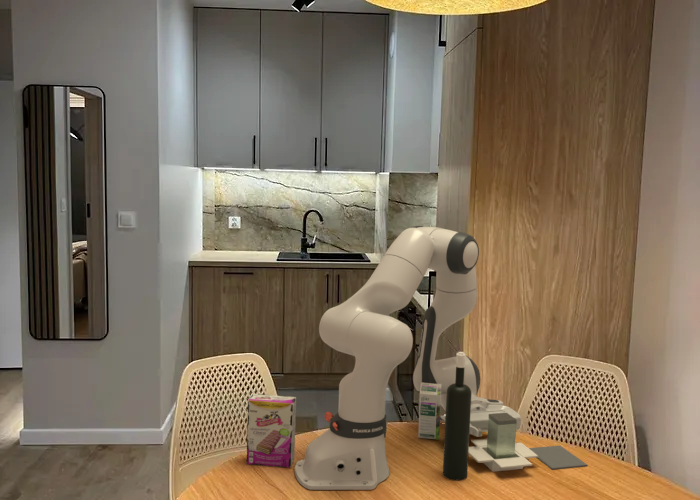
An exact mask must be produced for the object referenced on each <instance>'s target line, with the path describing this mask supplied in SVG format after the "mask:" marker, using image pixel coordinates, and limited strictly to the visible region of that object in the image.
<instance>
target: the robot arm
mask: <svg viewBox="0 0 700 500" xmlns="http://www.w3.org/2000/svg"><path fill="white" fill-rule="evenodd" d="M479 254H480V248H479V244H478V242H477V240H476V239H475V237H474V236H473V235H471V234H469V233H466V232H463V231H459V232H458V231H455V230H451V229H446V228H443V227H438V226H437V227H436V226H423V225H413V226H409V227H408V228H406V229H405V230H402V232H401V233H400V234H399V235H397V237H396V238H395V239H394V240H393V242H392V243H391V244H390V246H389V247H388V249H387V250H386V251H385V253H384V255H383V256H382V258H381V260H380V261H379V263H378V265H377V266H376V268H375V269H374V271H373V272H372V274H371V276H370V277H369V278H368V280H367V281H366V282H365V284H363V286H361V287H360V289H359V290H358V291H356V292H355V293H354V294H353V295H352V296H350V297H348V298H347V300H345V301H343V302H342V303H340V304H339V305H336V306H333V307H330V308H329V309H327V310H326V311H325V312H324V313H323V314H322V316H321V319H320V322H319V326H318V332H319V333H318V334H319V336H320V338H321V340H322V342H323V343H325V344H326V345H327V346H329V347H330V348H331V349H333V350H335V351H337V352H341V353H342V354H347V355H350V356H352V357H354V358H355V363H354V368H353V369H352V372H349V373H348V374H346V375H344V376H343V378H342V379H341V380H340V382H339V384H338V406H337V407H338V411H337V412H336V413H335V414H333V413H332V412H330V411H326V413H325V414H324V419H325V421H326V422H328V423H329V429H327V430H326V431H324V432H323V433H321V434H320V435H319V436H318V437H316V438H315V439H313V440H312V441H311V442H310V443H309V444H308V445H307V447H306V451H305V456H304V458H303V459H299V460H298V461H297V462H296V464H295V466H294V467H295V468H294V475H295V478H296V480H297V482H298V483H299V484H300V485H301V486H302V487H303V488H305V489H307V490H310V491H313V490H315V491H319V490H320V491H325V490H326V491H327V490H328V491H329V490H330V491H332V490H333V491H337V490H338V491H340V490H341V491H343V490H345V491H346V490H347V491H348V490H349V491H351V490H352V491H354V490H355V491H356V490H357V491H358V490H359V491H360V490H365V491H368V490H374V489H375V488H376V487H377V486H378V484H381V482H383V481H385V480H386V479H388V477H389V476H390V468H389V465H388V459H387V454H386V453H387V451H386V442H385V441H386V440H385V439H386V436H387V429H388V427H387V426H388V425H387V424H388V423H387V420H388V419H387V414H386V399H387V388H388V383H389V379H390V377H391V376H392V373H393V372H394V370H395V368H396V367H397V366H398V365H400V364H402V363H403V362H405V360H406V359H407V358H409V356H410V353H411V351H412V349H413V345H414V344H413V342H414V337H413V332H412V331H411V327H409V326H408V324H406V323H404V322H402V321H401V320H399V319H397V318H395V317H392V316H390V314H392V313H394V312H396V311H399V310H402V309H404V308H405V307H407V306H408V305H409V303H410V302H411V300H412V299H413V297H414V295H415V293H416V291H417V290H418V288H419V286H420V284H421V282H422V281H423V279H424V276H425V275H426V273H427V271H428V269H429V270H430V269H431V270H432V271H436V276H435V277H436V279H435V294H434V298H433V301H432V302H431V304H430V306H429V307H427V308H426V309H425V311H424V314H423V318H422V323H421V324H422V325H421V330H420V336H419V343H418V344H419V345H418V351H417V357H416V358H417V359H416V361H415V365H414V369H413V374H412V381H413V387H414V390H415V391H416V392H417V393H418V395H419V394H420V385H421V382H423V383H433V384H441V407H442V408H443V409H444V411H445V412H446V396H447V388H448V387H449V386H450V385H451V384H454V383H455V379H456V356H452V357H451V356H450V357H448V358H442V359H436V356H437V348H438V343H439V338H440V336H441V334H442V333H443V332H444V331H445V330H447V329H448V328H449V327H451V326H452V325H454V324H455V323H457V322H459V321H461V320H463V319H464V318H466V317H467V316H468V315H470V314H471V313H472V311H473V310H474V309H475V307H476V305H477V299H478V298H477V297H478V279H477V270H476V265H477V263H478V260H479ZM464 384H465V385H467V386H468V387H469V388H470V389H471V412H470V431H469V435H472V436H474V437H482V436H483V434H482V433H486V432H487V433H488V418H489V414H495V413H508V414H509V415H511V416H512V417H513V418H515V419H516V420H517V423H516V431H517V430H519V429H520V428H521V427H522V426H521V424H522V417H521V415H520V414H519V413H518V412H517V411H516V410H514V409H513V408H512V407H509V406H507V405H504V402H503V401H502V400H498V399H490V398H489V399H488V398H483V397H480V396H477V395H478V392H479V390H480V387H481V373H480V369H479V367H478V365H477V364H476V363H475V362H474V360H473V359H472V358H470V357H469V356H468V355H466V357H465V368H464ZM445 416H446V413H443V414H441V415H440V422H443V423H445Z"/></svg>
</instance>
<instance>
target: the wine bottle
mask: <svg viewBox="0 0 700 500" xmlns="http://www.w3.org/2000/svg"><path fill="white" fill-rule="evenodd" d="M466 356H467V355H466V352H465V351H457V352H456V355H455V357H456V379H455V383H454V384H451V385H450V386H449V387H448V388H447V396H446V411H445V414H446V416H445V422H444V438H443V439H444V441H443V442H444V444H443V463H442V476H444V478H446V479H447V480H452V481H463V480H466V479H467V478H468V469H469V468H468V465H469V453H468V450H469V447H470V446H469V445H470V434H469V431H470V412H471V389H470V388H469V387H468V386H467V385H465V384H464V368H465V357H466Z"/></svg>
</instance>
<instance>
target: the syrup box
mask: <svg viewBox="0 0 700 500" xmlns="http://www.w3.org/2000/svg"><path fill="white" fill-rule="evenodd" d="M418 395H419V397H418V398H419V399H418V401H419V402H418V406H419V408H418V434H417V435H418V438H419V439H429V440H438V441H439V440H440V430H441V429H440V428H441V420H440V416H441V407H442V405H441V384H433V383H423V382H421V385H420V394H419V393H418Z"/></svg>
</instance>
